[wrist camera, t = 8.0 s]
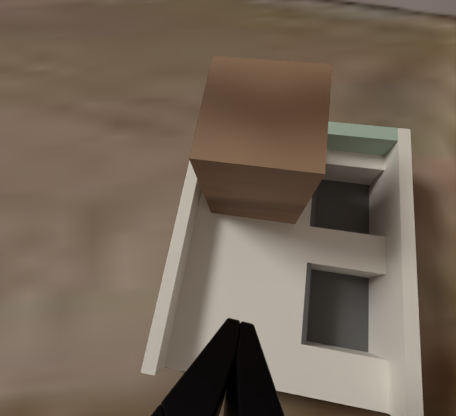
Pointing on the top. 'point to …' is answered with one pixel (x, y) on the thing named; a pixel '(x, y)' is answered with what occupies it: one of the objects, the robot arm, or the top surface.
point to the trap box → (308, 280)
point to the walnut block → (262, 137)
